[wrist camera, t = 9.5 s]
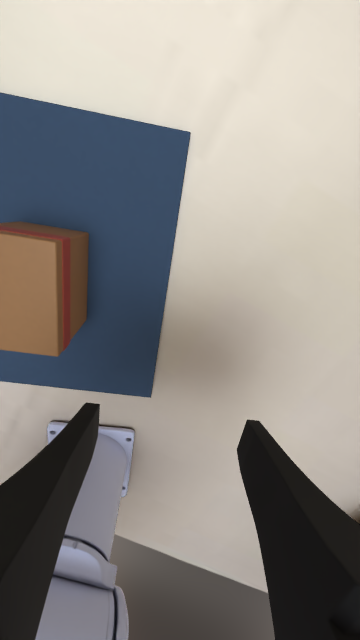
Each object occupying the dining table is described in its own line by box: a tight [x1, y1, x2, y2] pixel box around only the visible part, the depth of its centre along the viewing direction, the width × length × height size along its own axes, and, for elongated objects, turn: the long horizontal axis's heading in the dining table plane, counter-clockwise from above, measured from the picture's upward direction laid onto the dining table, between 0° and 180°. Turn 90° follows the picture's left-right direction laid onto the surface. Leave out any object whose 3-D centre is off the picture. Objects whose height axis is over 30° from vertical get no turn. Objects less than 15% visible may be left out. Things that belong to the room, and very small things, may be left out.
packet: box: [0, 221, 89, 357], centre depth 16 cm, size 7×5×6 cm
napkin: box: [0, 93, 190, 398], centre depth 19 cm, size 20×16×1 cm
